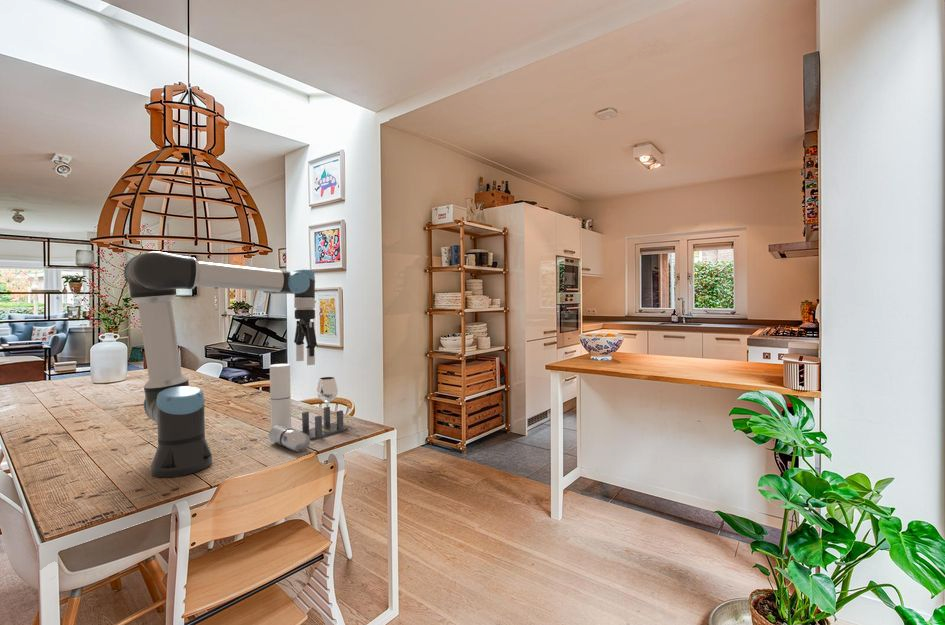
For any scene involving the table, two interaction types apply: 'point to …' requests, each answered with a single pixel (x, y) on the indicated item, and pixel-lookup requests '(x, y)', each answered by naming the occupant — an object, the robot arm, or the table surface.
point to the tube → (289, 438)
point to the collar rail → (326, 428)
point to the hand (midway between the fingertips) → (305, 362)
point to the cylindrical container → (280, 395)
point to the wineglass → (327, 391)
